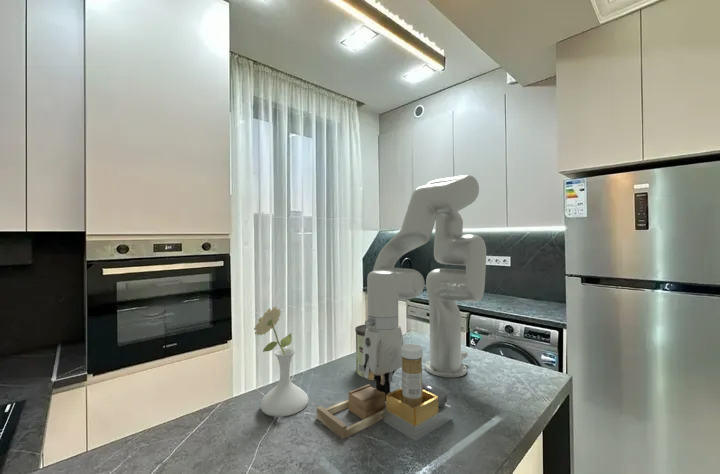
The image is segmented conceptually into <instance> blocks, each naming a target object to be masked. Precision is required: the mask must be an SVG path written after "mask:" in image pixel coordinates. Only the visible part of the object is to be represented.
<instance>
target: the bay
mask: <svg viewBox="0 0 720 474" xmlns="http://www.w3.org/2000/svg"><path fill="white" fill-rule="evenodd" d="M375 389H376V387H375ZM345 409H349V398H348V399H346V400H344V401H341V402H338V403H336V404H334V405H332V406H329V407H325V408H324V407H323V406H317V407H316V419H317V420H318V421H319V422H321V423H322V424H323V425H324V426H326V427H327V428H328V429H330V431H332V432H333V433H334V434H335V435H337V436H338V437H339V438H341V439H342V440H344V439H346V438H348V437H350V436H352V435H354V434H356V433H358V432H361V431H362V430H364V429H366V428H368V427H370V426H372V425H373V424H376V423H378V422H380V421H383V420H384V415H383V410H382V411H380V412H378V413H376V414H374V415H372V416H370V417H368V418H366V419H361V420H360V421H357V422H355V423H353V424H351V425H349V426H347V424H345V423H344V422H343V421H342V420H340V419H339V418H337V417H336V416H335V415H334V414H336V413H338V412H341V411H343V410H345Z"/></svg>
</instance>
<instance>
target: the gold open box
mask: <svg viewBox="0 0 720 474" xmlns="http://www.w3.org/2000/svg"><path fill="white" fill-rule="evenodd" d="M422 384H423V394H422V404H420V405H418V406H417V407H415V408H413V407H411V406H409V405H407V404H405V403H403V401H402V387H399V388H397V389H395V390H393V391H390V393H388V394H387V395H386V401H385V408H383V415H384V419H383V422H384V423H386V424H387V425H388V426H390V427H392V428H394V429H395V430H397V431H398V432H400V433H401V434H403V435H404V436H406V437H407V438H409V439H411V440H412V441H414V442H417V441H419V440H420V439H422V438H423V437H425V436H426V435H428V434H430V433H431V432H433V431H435V430H436V429H438V428H440V427H441V426H443V425H445V424H447V423H448V422H449V421H451V420H452V405H450V404H447V401H448V395H447V392H446V391H444V390H441V389H440V388H437V387H434V386H431V384H428V383H425V382H423V381H422Z"/></svg>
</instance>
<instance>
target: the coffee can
mask: <svg viewBox="0 0 720 474" xmlns="http://www.w3.org/2000/svg"><path fill="white" fill-rule="evenodd" d="M366 329H367V326H366V325H365V324H362V325H361V324H360V325H358V326H356V327H355V372H356V374H357V375H358V376H360V377H362V378H365V371H366V370H364V368H363V345H364V337H365V331H366Z"/></svg>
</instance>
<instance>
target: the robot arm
mask: <svg viewBox="0 0 720 474" xmlns="http://www.w3.org/2000/svg"><path fill="white" fill-rule="evenodd" d="M479 194H480V186H479V182H478V181H477V178H476V177H475V176H473V175H471V174H465V175H464V174H462V175H458V176H451V177H444V178H439V179H435V180H434V179H433V180H431V181H428V182H427V183H426V184H424V185H421V186H418V187H417V188H415V189H414V190H413V192H412V194H411V196H410V199H409V203H408V206H407V210H406V213H405V215H404V219H403V222H402V225H401V228H400V230H399V231H398V232H397V233H396V234H395V235H393V237H391V238H390V240H389V241H388V242H387V243H386V244H385V245H384V246H383V247H382V248H381V249H380V252H379V253H378V254H377V258H376V260H375V263H374V265H373V269H372V271H370V272H369V273H368V274H367V277H366V282H367V283H366V286H367V290H366V291H367V299H366V300H367V303H366V305H367V309H366V310H367V314H366V315H367V318H366V319H367V320H365V322H364V325H366V326H367V329H366V331H365V337H364V345H363V368H364V370H366V371H365V377H364V378H365V379H366V380H369V381H371V380H372V381H374V382H375V388H376V389H377V390H379V391H380V392H385V402H386V395H387V394H388V393H390V392H391V382H393V376H394V373H395V372H397V371H398V370H399V369H400V368H401V369H402V356H401V347H402V346H403V345H404V338H403V333H402V332H403V331H402V328H401V326H400V325H399V299H405V300H407V299H409V300H410V299H415V298H417V297H419V296H420V295H421V294H422V292H423V291H424V289H425V286H426V293H427V298H428V305H429V307H428V308H429V310H428V311H429V360H427V361H426V362H425V364H424V368H425V370H426V371H427V372H428V373H429V374H431V375H433V376H437V377H441V378H459V377H462V376H463V377H464V375H466V374H467V371H468V370H467V368H468V367H467V366H466V365H465V364H464V363H463V360H464V359H467V358H468V357H469V355H468V353H467V351H463V352H462V315H461V311H460V307H458V305H457V303H456V301H457V302H463V303H478V302H480V301H481V300H483V299H482V298H483V297H484V294H485V293H484V292H485V285H486V270H487V247H486V242H485V240H484V239H483V237H481V236H480V235H477V234H471V233H470V234H469V233H468V234H464V233H463V225H464V219H463V217H462V215H461V213H460V212H459V211H461V210H463V209H465V208H467V207H468V206H469V205H472V204H474V202H475V201H476V200H477V199H478V196H479ZM434 228H435V229H434ZM433 229H434V230H435V231H433ZM433 232H434V242H433V257H434V260H435V261H436V262H437V263H438V264H441V265H448V266H449V265H452V266H464V267H465V269H456V268H442V267H441V268H435V269H432V270H431V271H429V273H428V274H427V276H426V279H424V276H423V275H422V273H420V271H418V270H416V269H413V268H403V267H395V265H396V263H397V262H398V261H399V260H400V259H401V258H402V257H403V256H404V255H405V254H407V253H409V252H410V251H411V252H412V251H413V250H415V249H417V248H420V247H421V246H423V245H426V244H427V243H428V242H429V241H430V240H431V238H432V235H433Z"/></svg>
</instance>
